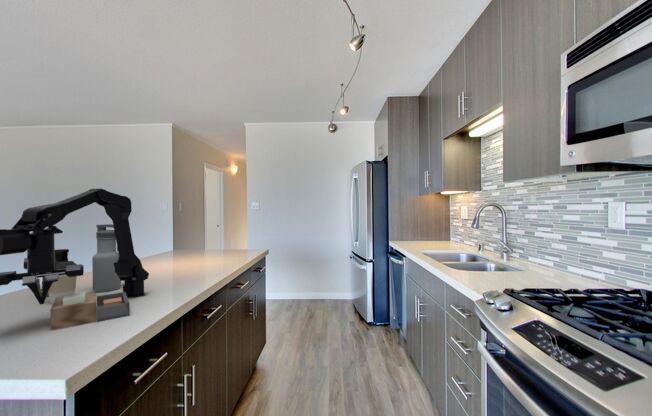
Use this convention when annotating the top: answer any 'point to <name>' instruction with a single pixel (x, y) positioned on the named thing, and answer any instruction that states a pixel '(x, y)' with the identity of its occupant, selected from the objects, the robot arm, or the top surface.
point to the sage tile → (74, 298)
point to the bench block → (73, 312)
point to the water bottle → (105, 261)
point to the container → (58, 260)
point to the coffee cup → (62, 283)
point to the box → (112, 307)
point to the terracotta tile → (112, 301)
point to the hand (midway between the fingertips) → (42, 303)
